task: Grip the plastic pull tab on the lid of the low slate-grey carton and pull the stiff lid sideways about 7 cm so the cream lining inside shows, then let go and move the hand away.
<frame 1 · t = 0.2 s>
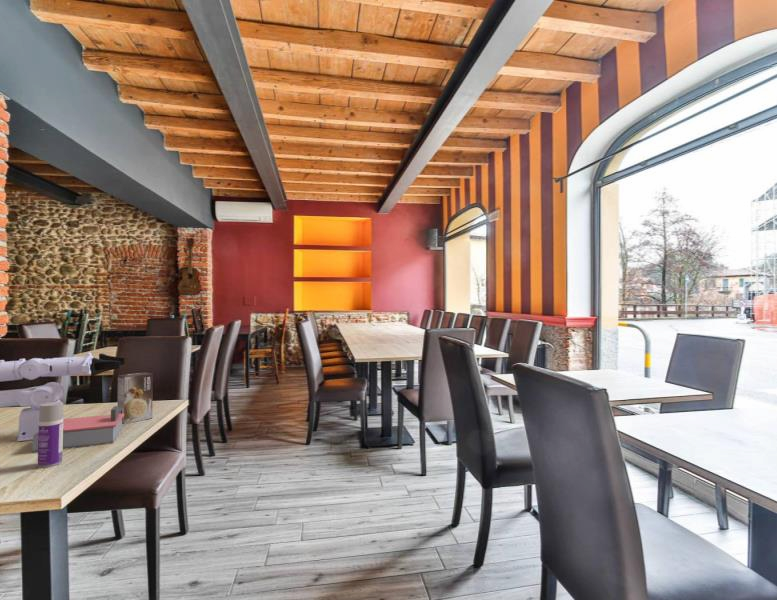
hand: (122, 362, 128), 21 cm above the table, tool horizontal, fingers open, 7 cm apart
coffee box: (134, 420, 137), on the table
carton: (81, 440, 115), on the table
lid: (84, 417, 116), point 7 cm above the table, slide at 0.7 cm, touching arm
container: (50, 464, 97), on the table
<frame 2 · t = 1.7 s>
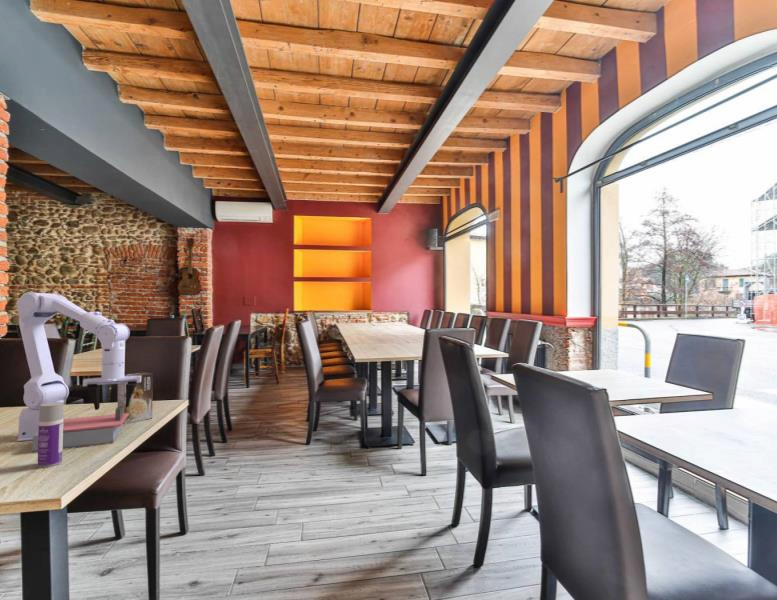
hand: (112, 407, 119), 9 cm above the table, tool pointing down, fingers open, 7 cm apart
lid: (89, 416, 116), point 7 cm above the table, slide at 1.8 cm
everything else where it was.
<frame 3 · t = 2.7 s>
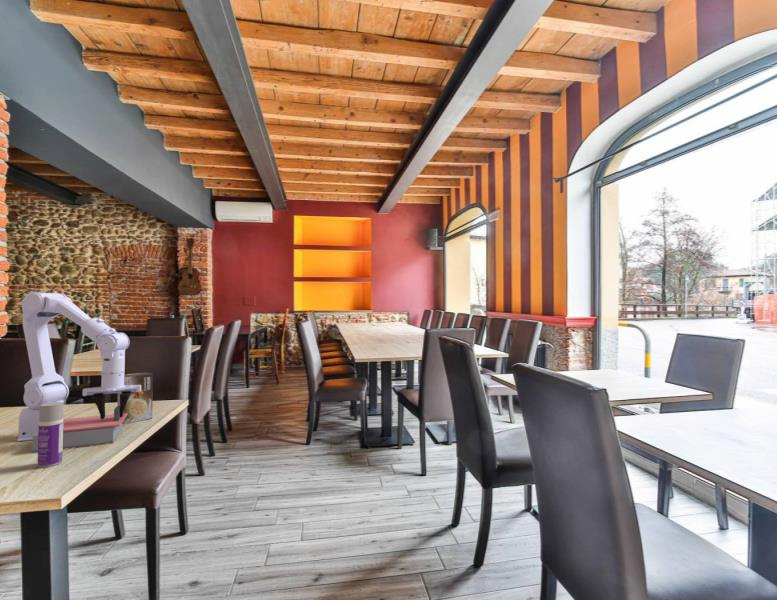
hand: (112, 417, 119), 6 cm above the table, tool pointing down, fingers open, 4 cm apart
lid: (87, 416, 116), point 7 cm above the table, slide at 1.5 cm, touching gripper
everything else where it was.
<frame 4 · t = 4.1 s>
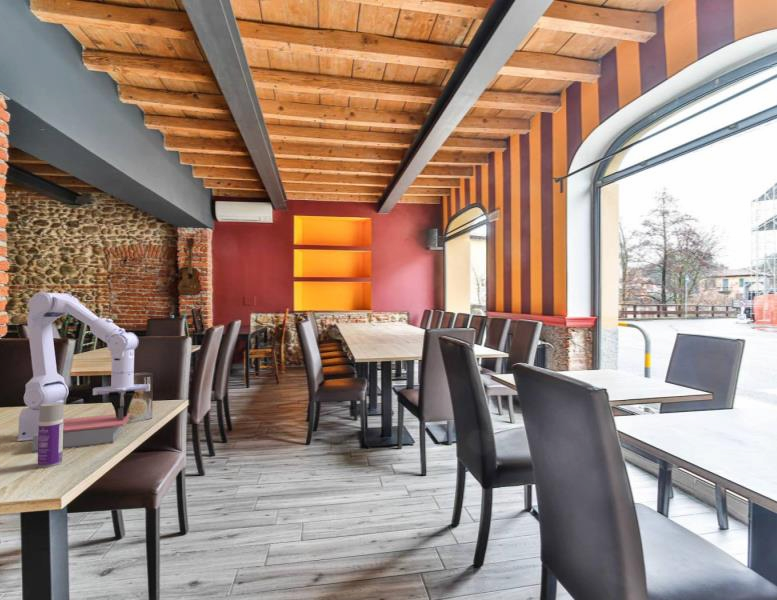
hand: (121, 416, 120), 6 cm above the table, tool pointing down, fingers closed on lid
lid: (91, 416, 117), point 7 cm above the table, slide at 2.4 cm, touching gripper
everything else where it was.
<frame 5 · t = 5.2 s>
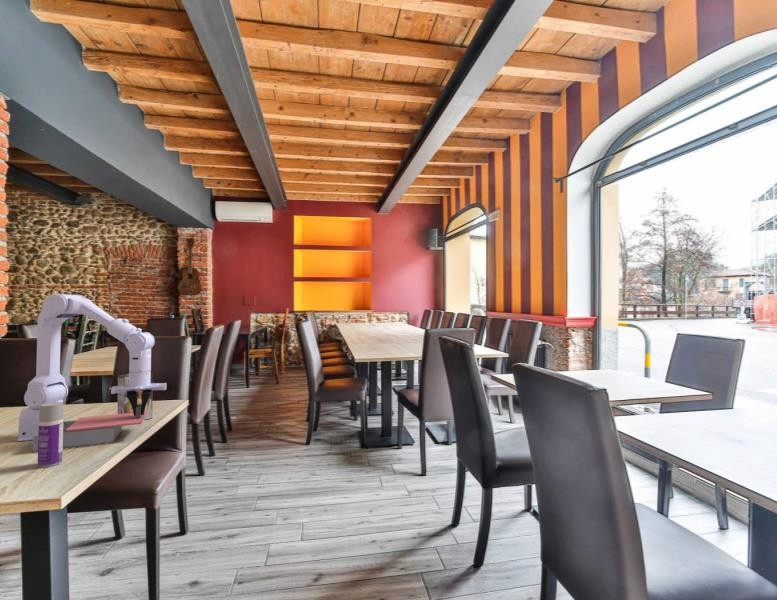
hand: (139, 414, 122), 6 cm above the table, tool pointing down, fingers closed on lid
lid: (110, 414, 119), point 7 cm above the table, slide at 7.0 cm, touching gripper
everything else where it was.
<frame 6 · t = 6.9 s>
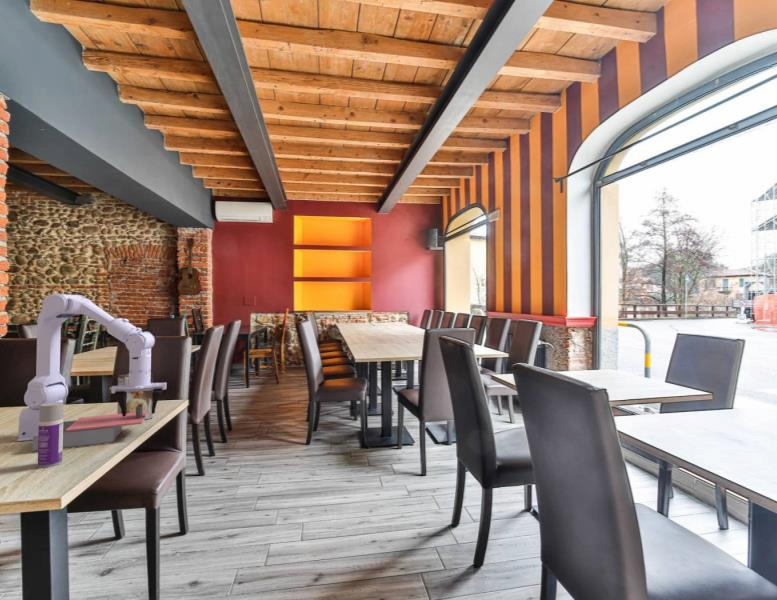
hand: (139, 414, 122), 6 cm above the table, tool pointing down, fingers open, 7 cm apart
lid: (110, 414, 119), point 7 cm above the table, slide at 7.0 cm
everything else where it was.
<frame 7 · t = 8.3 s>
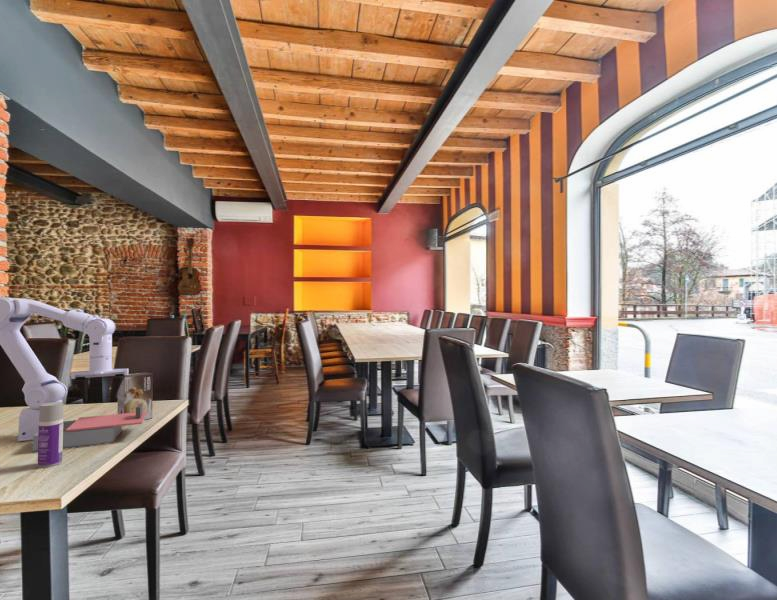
hand: (100, 399, 122), 10 cm above the table, tool pointing down, fingers open, 7 cm apart
nothing on the table moved.
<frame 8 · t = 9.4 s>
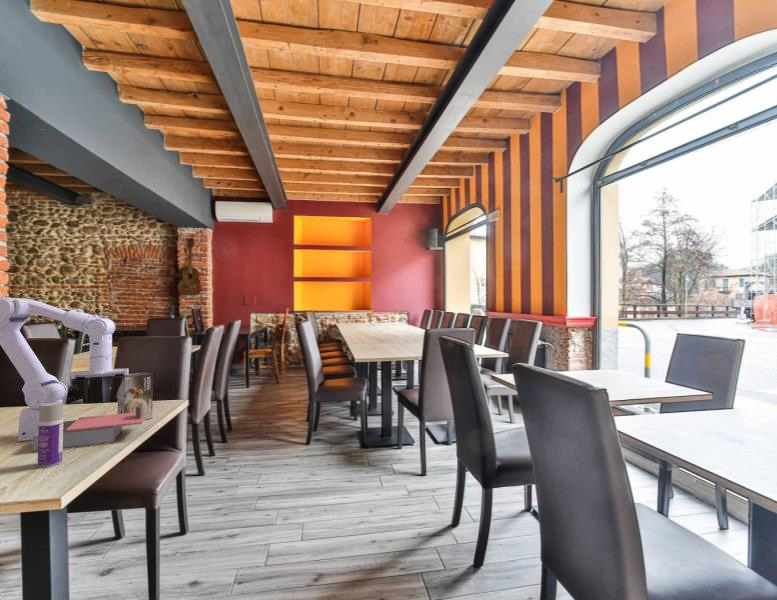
hand: (100, 399, 122), 10 cm above the table, tool pointing down, fingers open, 7 cm apart
nothing on the table moved.
at the end: lid slide at 7.0 cm; coffee box moved 0.2 cm from its start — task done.
